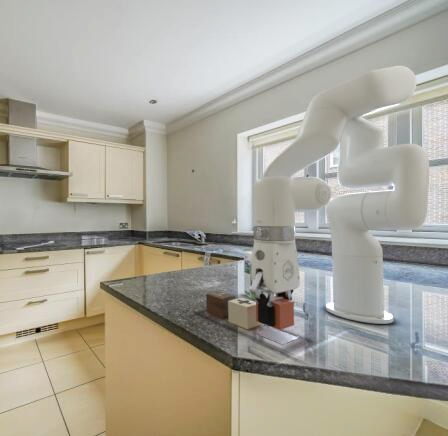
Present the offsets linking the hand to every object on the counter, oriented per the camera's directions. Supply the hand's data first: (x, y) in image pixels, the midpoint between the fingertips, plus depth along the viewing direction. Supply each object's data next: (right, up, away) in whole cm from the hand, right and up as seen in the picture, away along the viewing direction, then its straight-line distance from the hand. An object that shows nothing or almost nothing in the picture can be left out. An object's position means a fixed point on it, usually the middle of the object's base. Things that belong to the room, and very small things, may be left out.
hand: (274, 320), depth 52 cm
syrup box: (+12, -4, +28) cm, 30 cm away
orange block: (0, -1, 0) cm, 1 cm away
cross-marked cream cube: (-3, -3, +6) cm, 8 cm away
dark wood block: (-6, -3, +12) cm, 14 cm away
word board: (-3, -4, +6) cm, 8 cm away
